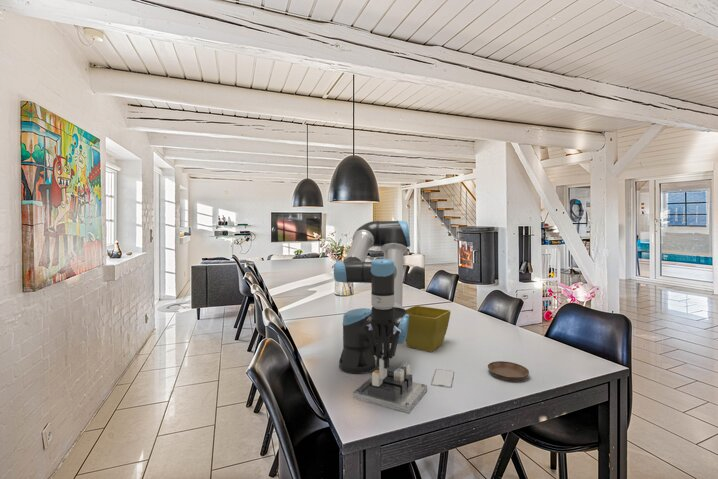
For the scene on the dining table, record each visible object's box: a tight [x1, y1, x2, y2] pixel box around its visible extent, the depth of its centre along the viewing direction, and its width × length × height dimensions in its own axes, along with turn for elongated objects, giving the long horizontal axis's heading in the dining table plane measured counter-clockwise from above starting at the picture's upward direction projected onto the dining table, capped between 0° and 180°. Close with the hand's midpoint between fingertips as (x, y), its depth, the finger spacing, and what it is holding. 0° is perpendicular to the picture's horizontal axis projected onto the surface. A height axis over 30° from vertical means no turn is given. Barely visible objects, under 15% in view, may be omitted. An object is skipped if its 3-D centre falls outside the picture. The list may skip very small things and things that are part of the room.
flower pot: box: [405, 305, 451, 353], centre depth 171 cm, size 19×19×17 cm
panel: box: [352, 362, 428, 414], centre depth 123 cm, size 20×17×9 cm
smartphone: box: [430, 368, 455, 389], centre depth 136 cm, size 7×1×15 cm
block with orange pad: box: [371, 369, 383, 387], centre depth 119 cm, size 2×3×4 cm
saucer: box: [487, 360, 530, 382], centre depth 139 cm, size 15×15×3 cm
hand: (383, 377), depth 119 cm, fingers closed
